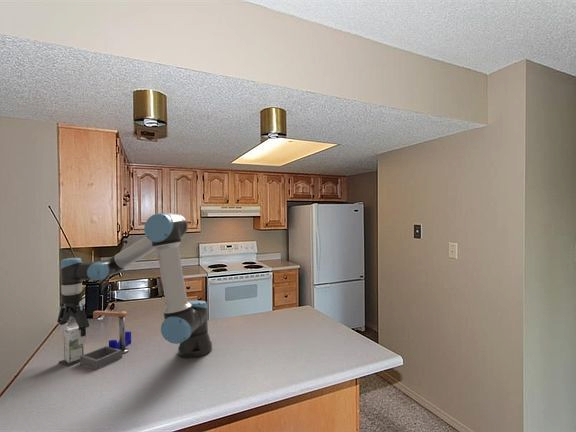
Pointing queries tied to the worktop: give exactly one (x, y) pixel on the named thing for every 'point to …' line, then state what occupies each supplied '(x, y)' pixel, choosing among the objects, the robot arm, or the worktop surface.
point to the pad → (68, 363)
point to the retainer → (109, 313)
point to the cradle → (95, 363)
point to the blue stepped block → (114, 342)
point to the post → (122, 335)
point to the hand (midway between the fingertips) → (73, 341)
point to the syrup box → (72, 344)
